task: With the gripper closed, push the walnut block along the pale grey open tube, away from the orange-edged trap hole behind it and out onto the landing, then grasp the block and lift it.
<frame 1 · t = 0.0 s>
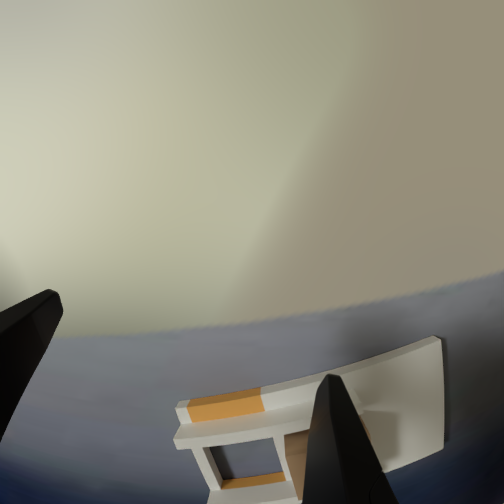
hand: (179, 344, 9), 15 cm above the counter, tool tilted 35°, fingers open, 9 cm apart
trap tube: (322, 433, 24), on the counter
walnut block: (325, 442, 22), point 1 cm above the counter, touching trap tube
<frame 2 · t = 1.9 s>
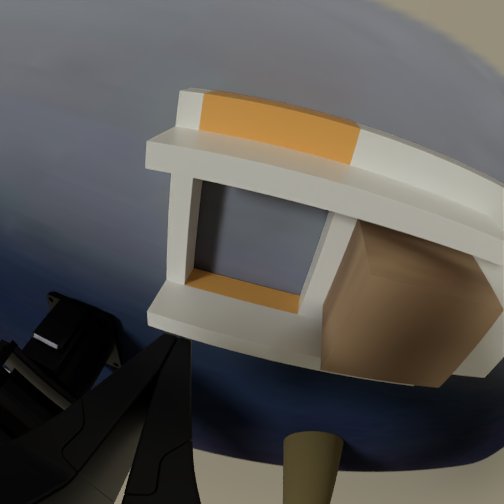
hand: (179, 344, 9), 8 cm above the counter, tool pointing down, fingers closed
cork: (313, 441, 27), on the counter
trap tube: (392, 262, 15), on the counter
walnut block: (398, 280, 14), point 1 cm above the counter, touching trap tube
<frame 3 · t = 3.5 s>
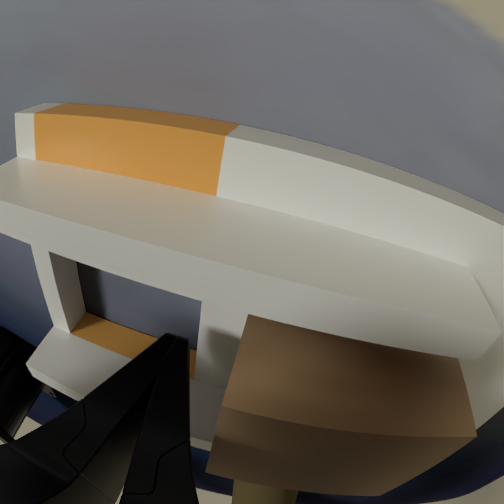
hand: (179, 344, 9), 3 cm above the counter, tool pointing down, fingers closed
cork: (266, 482, 23), on the counter
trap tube: (320, 322, 11), on the counter
walnut block: (332, 357, 10), point 2 cm above the counter, touching gripper, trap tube
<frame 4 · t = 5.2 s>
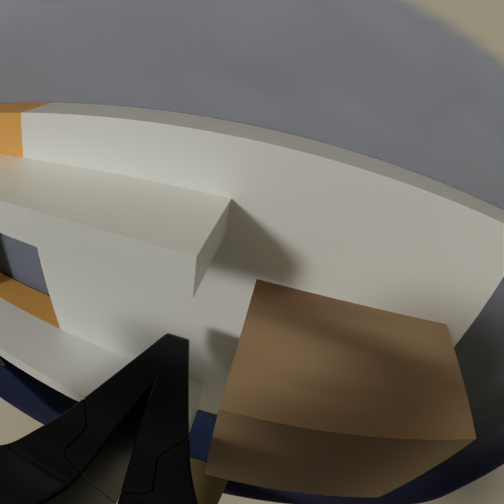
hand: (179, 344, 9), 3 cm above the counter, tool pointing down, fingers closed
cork: (197, 466, 24), on the counter
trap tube: (145, 275, 11), on the counter
walnut block: (331, 359, 10), point 1 cm above the counter, touching gripper, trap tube
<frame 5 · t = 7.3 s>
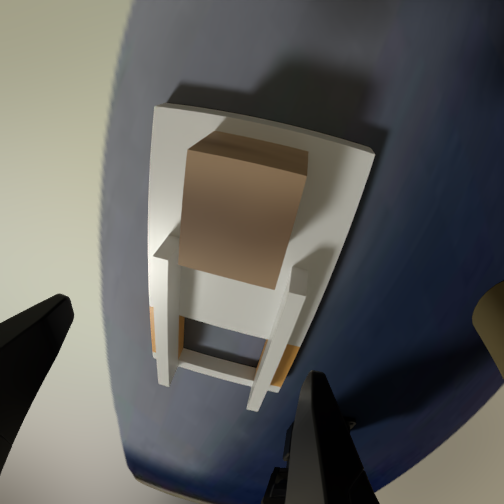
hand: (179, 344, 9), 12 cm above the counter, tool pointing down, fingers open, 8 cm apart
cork: (500, 306, 20), on the counter
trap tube: (234, 275, 23), on the counter
walnut block: (250, 191, 17), point 1 cm above the counter, touching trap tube
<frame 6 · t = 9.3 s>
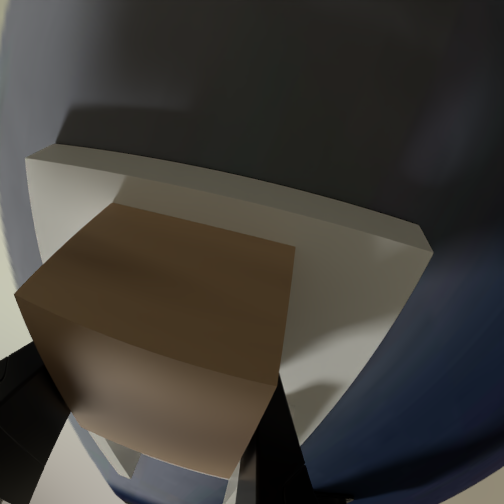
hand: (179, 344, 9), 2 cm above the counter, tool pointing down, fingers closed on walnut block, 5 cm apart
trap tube: (193, 385, 15), on the counter
walnut block: (189, 307, 10), point 2 cm above the counter, touching gripper, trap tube
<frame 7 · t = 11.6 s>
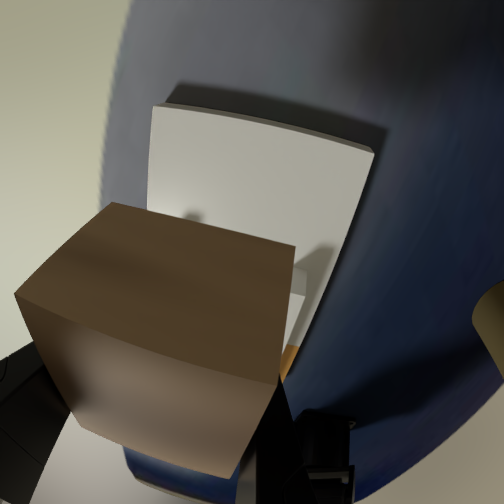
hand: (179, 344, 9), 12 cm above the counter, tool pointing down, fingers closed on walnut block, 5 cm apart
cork: (500, 306, 20), on the counter
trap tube: (234, 275, 23), on the counter
walnut block: (189, 307, 10), point 11 cm above the counter, touching gripper
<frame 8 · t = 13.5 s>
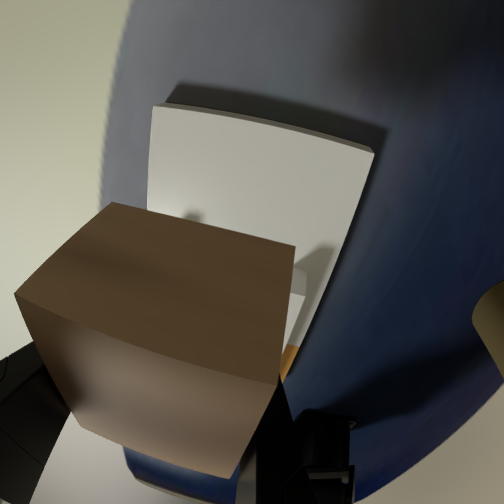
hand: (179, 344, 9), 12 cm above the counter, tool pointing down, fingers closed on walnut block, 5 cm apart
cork: (500, 306, 20), on the counter
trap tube: (234, 275, 23), on the counter
walnut block: (189, 307, 10), point 11 cm above the counter, touching gripper
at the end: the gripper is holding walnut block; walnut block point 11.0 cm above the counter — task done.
